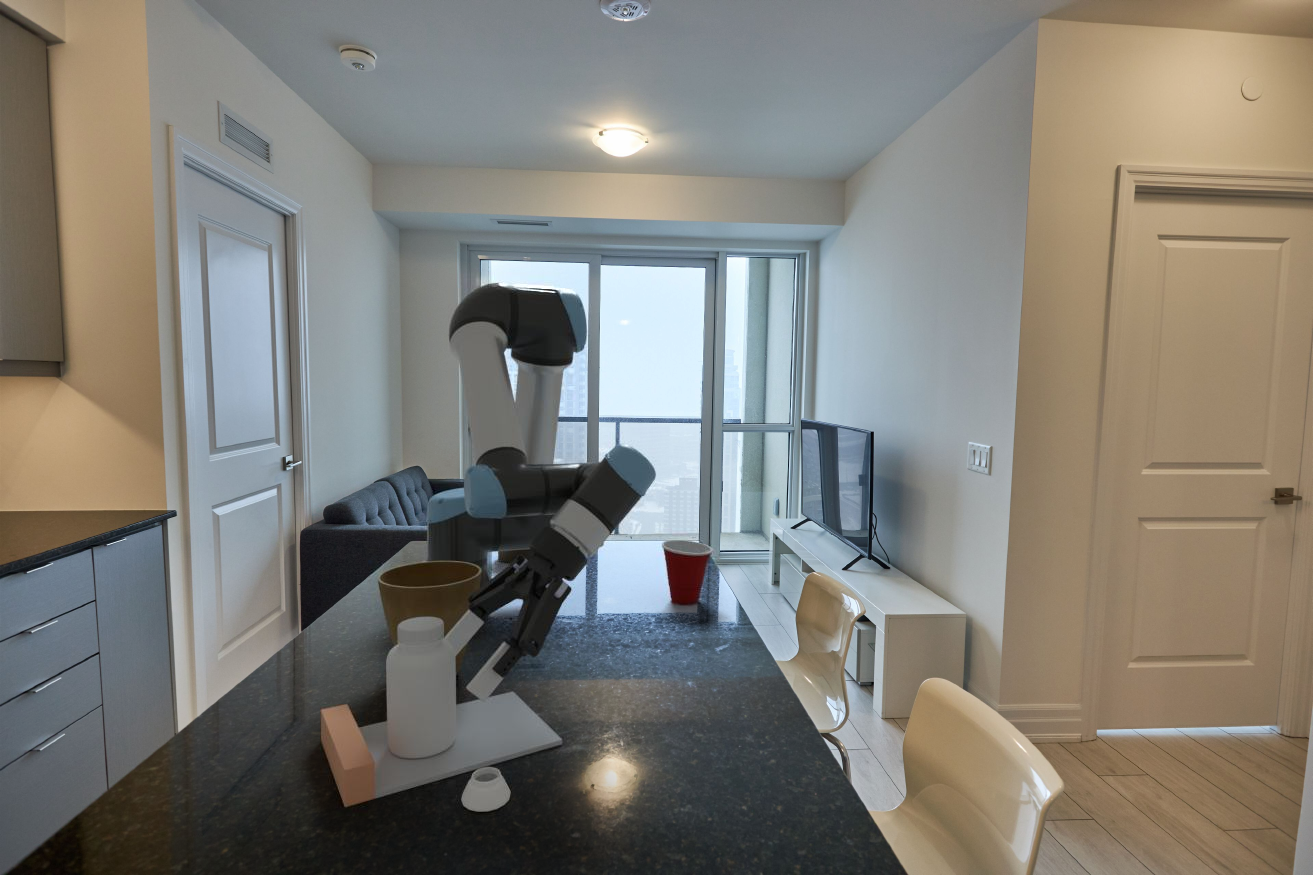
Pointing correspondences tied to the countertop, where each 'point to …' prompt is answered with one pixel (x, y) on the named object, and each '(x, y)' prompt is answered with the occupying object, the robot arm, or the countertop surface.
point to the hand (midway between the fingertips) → (457, 674)
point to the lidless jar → (485, 790)
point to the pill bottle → (421, 690)
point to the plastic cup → (685, 569)
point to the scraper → (479, 742)
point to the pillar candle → (514, 555)
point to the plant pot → (428, 594)
